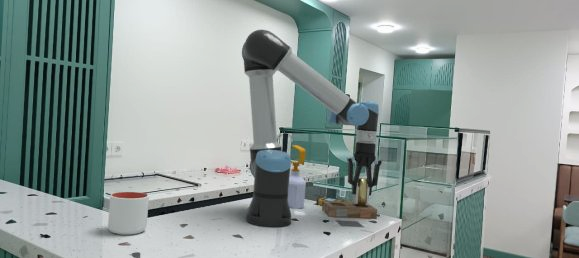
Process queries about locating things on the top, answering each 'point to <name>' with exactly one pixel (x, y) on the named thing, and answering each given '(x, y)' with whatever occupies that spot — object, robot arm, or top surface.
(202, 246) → the top surface
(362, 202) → the yellow tall cylinder
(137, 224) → the cup
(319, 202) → the electronic device
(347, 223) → the mat
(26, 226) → the top surface
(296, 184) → the soap bottle
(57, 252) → the top surface
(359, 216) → the socket block
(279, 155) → the robot arm
